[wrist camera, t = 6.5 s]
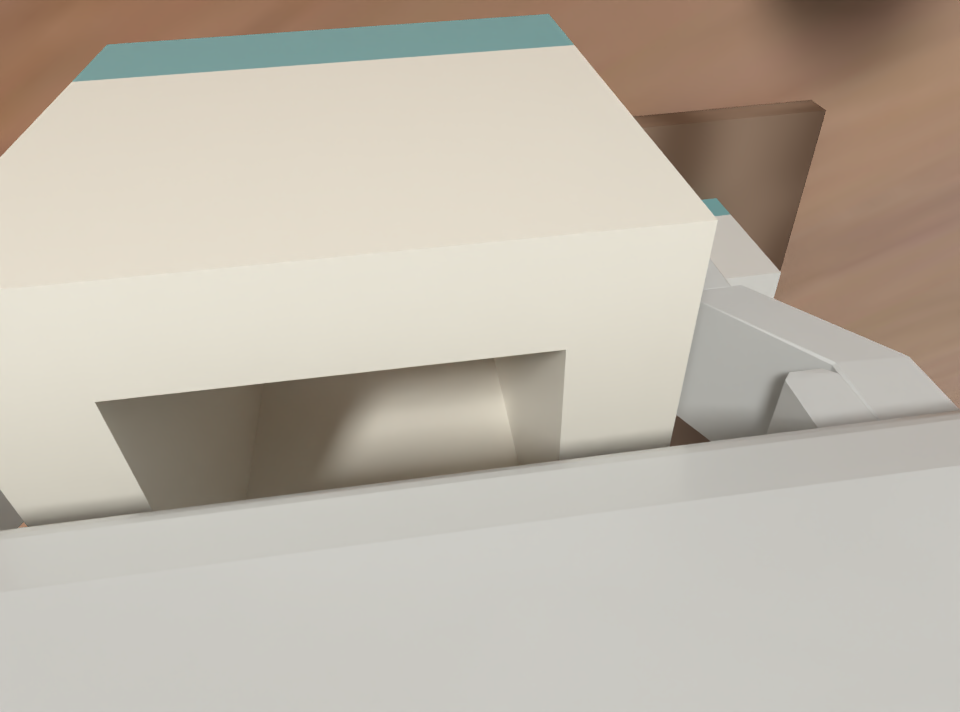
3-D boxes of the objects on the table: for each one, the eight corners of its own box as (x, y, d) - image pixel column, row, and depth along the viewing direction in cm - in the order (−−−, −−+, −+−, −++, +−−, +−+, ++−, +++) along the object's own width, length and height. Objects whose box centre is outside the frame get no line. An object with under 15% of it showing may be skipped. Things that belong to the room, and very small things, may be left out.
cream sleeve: (548, 14, 10) (718, 219, 5) (538, 345, 14) (630, 630, 9) (107, 44, 9) (-140, 302, 5) (226, 379, 13) (156, 700, 9)
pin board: (811, 100, 29) (907, 167, 24) (706, 492, 46) (749, 581, 41) (483, 130, 28) (511, 208, 23) (497, 521, 45) (516, 616, 40)
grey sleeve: (716, 198, 30) (780, 272, 26) (694, 309, 34) (747, 390, 30) (582, 212, 30) (623, 290, 25) (575, 323, 34) (610, 408, 29)
